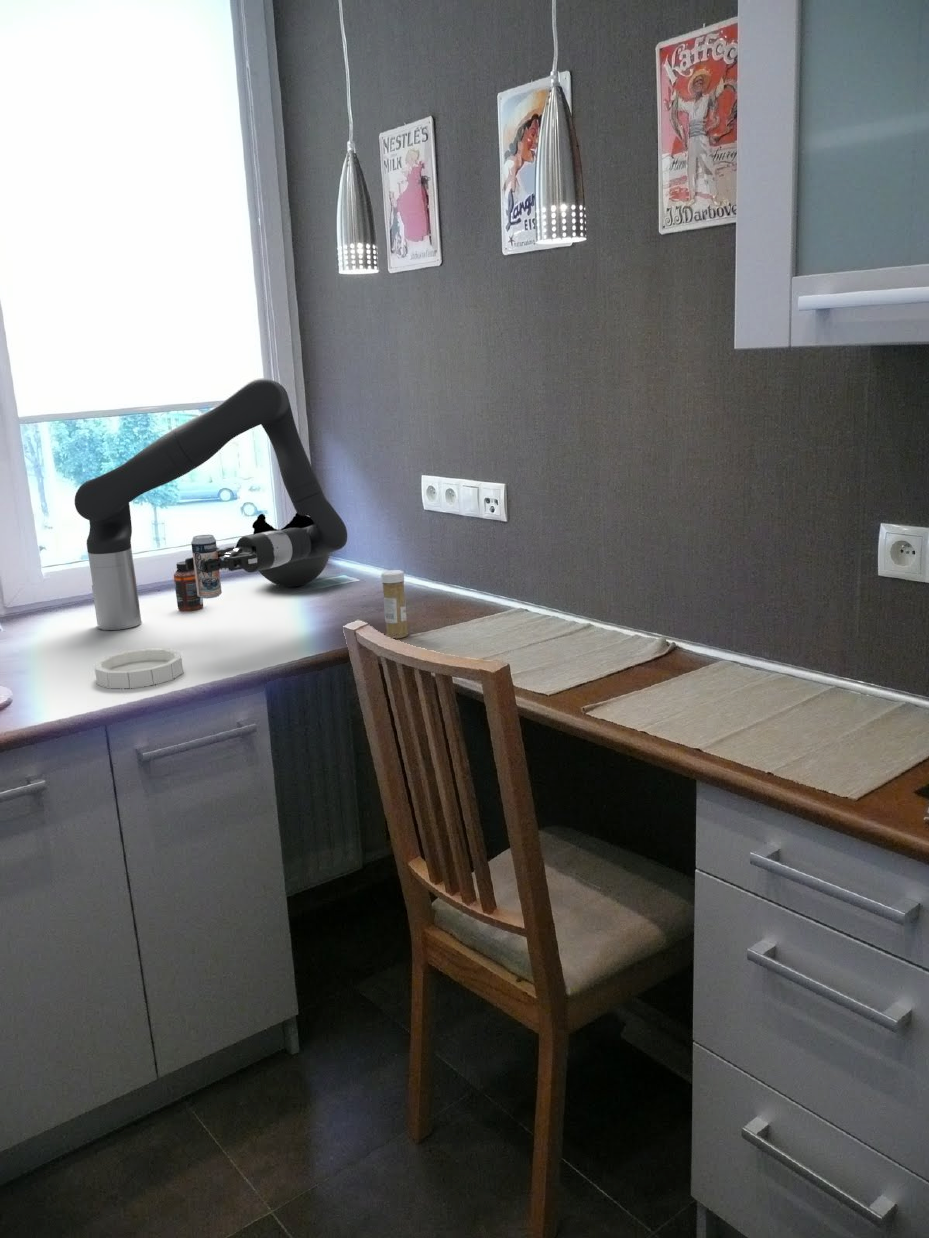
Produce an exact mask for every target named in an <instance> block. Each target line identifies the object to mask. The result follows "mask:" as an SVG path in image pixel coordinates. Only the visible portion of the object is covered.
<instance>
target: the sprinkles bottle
mask: <svg viewBox="0 0 929 1238" xmlns="http://www.w3.org/2000/svg"><path fill="white" fill-rule="evenodd" d="M380 575H381V576H380V577H381V578H380V579H381V583H382V589H383V592H382V593H383V609H384V619H385V620H384V621H385V628H386V635H387V636H389V637H394V638H396V640H397V639H402V638H406V637H407V636H409V635H408V634H409V632H408V622H407V607H406V597H405V585H404V582H405V573H404V571H403V570H399V569H392V570H385V571H383V572H381V574H380ZM387 636H386V637H387ZM394 638H393V639H394Z"/></svg>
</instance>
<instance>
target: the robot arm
mask: <svg viewBox="0 0 929 1238" xmlns="http://www.w3.org/2000/svg"><path fill="white" fill-rule="evenodd" d="M294 418H295V417H294V414H293V411H292V406H291V402H290V398H289V395H288V392H287V390H286V388H285V387H284V386H283V385H282V384H281V383H279V382H277V381H275V380H272V379H269V378H255V379H253V380H250V381H249V382H247V383H246V384H244V386H242V387H241V388H240V389H238V390H237V391H236V392H235V393H233V394H232V395H231V396H230V397H227V398H226V399H225V400H224V401H223V402H221V403H219V404H218V405H217V406H215V407H214V408H212V409H210V410H208V411H206V412H204V413H202V414H201V413H200V414H199V415H198V416H195V417H193V418H192V419H190V420H188V421H186V422H184V423H182V424H180V425H178V426H177V427H175V428H174V429H172V430H170V431H168V432H166V434H163V435H162V436H161V437H159V438H158V439H156V440H155V441H153V442H152V443H150V444H148V445H147V446H146V447H145V448H142V449H141V450H140V451H138V453H136V454H135V455H134V456H132V457H131V458H130V459H129V460H127V461H126V462H124V463H123V464H121V465H119V466H118V467H115V468H113V469H112V470H110V471H108V472H106V473H103V474H101V475H99V476H97V477H95V478H92V479H89V480H86V481H84V482H83V483H82V484H81V485H80V486H79V487H78V489H77V491H76V492H75V496H74V507H75V510H76V512H77V513H78V514H79V515H80V516H81V517H82V518H84V519H86V520H87V521H89V522H88V523H89V532H88V536H87V538H86V549H87V556H88V562H89V568H90V569H89V570H90V576H91V583H92V585H91V590H92V596H93V597H92V598H93V601H94V602H93V603H94V611H95V618H96V624H97V626H98V629H100V630H104V631H119V630H125V629H130V628H134V627H137V626H139V625H141V624H142V617H141V607H140V599H139V592H138V585H137V579H136V571H135V564H134V558H133V550H132V549H133V548H132V541H131V540H132V534H133V527H132V516H131V507H130V503H131V502H132V501H134V500H135V499H137V498H138V497H140V496H141V495H143V494H145V493H147V492H149V491H151V490H155V489H156V488H159V487H162V486H164V485H166V484H168V483H170V482H173V481H174V480H176V479H179V478H181V477H182V476H183V477H184V475H187V474H188V473H190V472H191V471H194V470H195V469H197V468H198V467H199V466H202V465H203V464H205V463H206V462H207V461H208V460H210V459H211V458H212V457H214V455H216V454H217V453H218V452H219V451H220V450H221V449H222V448H223V447H224V446H225V445H227V444H228V443H229V442H230V441H232V440H233V439H234V438H236V437H238V436H239V435H242V434H243V433H245V432H247V431H249V430H251V429H254V428H255V427H258V426H260V425H261V427H262V428H263V430H264V432H265V433H266V435H267V437H268V439H269V441H270V443H271V445H272V448H273V451H274V454H275V456H276V460H277V463H278V467H279V471H280V472H279V473H280V476H281V479H282V482H283V485H284V487H285V489H286V492H287V494H288V497H289V499H290V501H291V503H292V506H293V508H294V510H295V512H296V513H298V514H299V515H302V516H305V515H306V516H308V517H310V518H311V519H312V520H313V522H314V523H315V524H314V525H311V526H308V527H305V528H288V529H284V530H281V529H279V531H268V532H263V533H258V534H248V535H245V536H241V537H240V538H239V539H238V541H237V542H236V545H235V546H234V545H233V546H232V545H231V546H226V547H224V548H220V547H217V555H218V558H216V559H211V560H207V561H203V562H202V563H201V567H202V572H204V573H208V572H212V571H217V570H219V571H226V570H228V571H230V572H233V571H237V570H243V571H246V572H248V573H256V572H259V571H261V570H265V569H269V568H273V567H277V566H280V565H283V564H285V563H289V562H293V561H298V560H301V559H307V558H315V557H319V556H323V555H326V554H329V553H330V554H331V553H333V552H336V551H339V550H341V549H343V548H344V547H345V546H346V544H347V542H348V529H347V527H346V524H345V522H344V521H343V519H342V518H341V516H340V515H339V514H338V512H337V511H336V510H335V508H334V507H333V505H331V503H330V502H329V500H328V499H327V498H326V497H325V494H324V492H323V490H322V486H321V484H320V482H319V479H318V478H317V475H316V473H315V470H314V468H313V467H312V464H311V462H310V460H309V458H308V455H307V453H306V451H305V448H304V445H303V442H302V441H301V437H300V435H299V431H298V429H297V425H296V422H295V419H294ZM184 561H185V565H186V569H187V570H192V569H194V562H193V556H192V557H187V558H186V559H185V560H184Z"/></svg>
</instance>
